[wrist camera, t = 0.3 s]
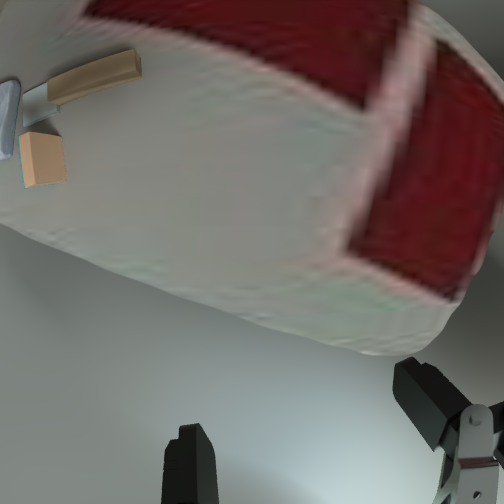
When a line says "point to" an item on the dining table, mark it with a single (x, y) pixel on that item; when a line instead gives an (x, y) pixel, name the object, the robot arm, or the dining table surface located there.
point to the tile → (41, 159)
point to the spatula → (79, 84)
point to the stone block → (8, 116)
